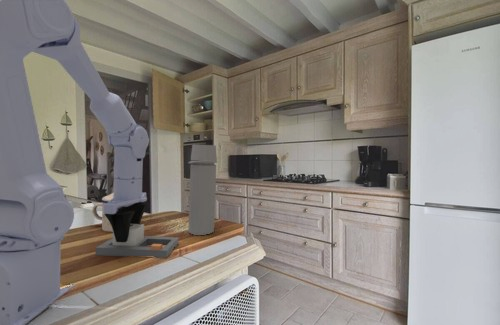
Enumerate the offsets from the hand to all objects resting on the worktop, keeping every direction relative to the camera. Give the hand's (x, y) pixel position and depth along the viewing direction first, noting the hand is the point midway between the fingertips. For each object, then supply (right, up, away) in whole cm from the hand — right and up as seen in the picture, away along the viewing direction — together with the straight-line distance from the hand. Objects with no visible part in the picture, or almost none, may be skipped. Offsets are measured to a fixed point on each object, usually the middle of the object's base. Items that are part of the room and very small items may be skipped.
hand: (127, 237), depth 54 cm
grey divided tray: (+3, -4, 0) cm, 5 cm away
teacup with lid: (-12, -2, +15) cm, 19 cm away
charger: (0, -2, 0) cm, 2 cm away
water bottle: (+13, -3, +14) cm, 20 cm away
